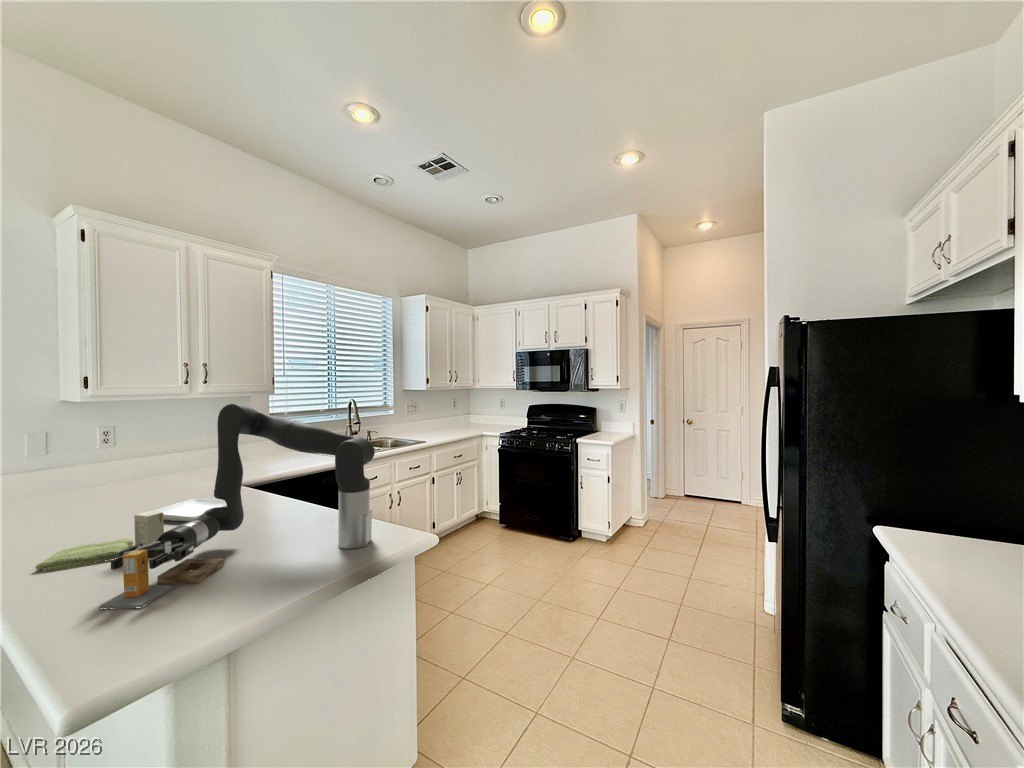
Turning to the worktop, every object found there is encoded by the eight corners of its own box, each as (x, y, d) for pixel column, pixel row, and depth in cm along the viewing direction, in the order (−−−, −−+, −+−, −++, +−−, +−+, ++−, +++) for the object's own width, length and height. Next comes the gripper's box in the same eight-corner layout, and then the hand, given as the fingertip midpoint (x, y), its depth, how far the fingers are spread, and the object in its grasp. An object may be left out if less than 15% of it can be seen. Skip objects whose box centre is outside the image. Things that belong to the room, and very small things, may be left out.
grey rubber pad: (172, 588, 101) (172, 585, 101) (141, 608, 92) (141, 604, 92) (134, 589, 100) (134, 586, 100) (99, 609, 91) (99, 606, 91)
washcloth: (54, 558, 119) (54, 547, 119) (134, 545, 128) (134, 535, 128) (33, 575, 108) (33, 563, 108) (123, 560, 117) (123, 549, 117)
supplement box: (134, 591, 98) (134, 549, 98) (149, 590, 98) (149, 549, 98) (122, 598, 94) (122, 555, 94) (137, 598, 94) (138, 554, 94)
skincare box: (164, 552, 122) (165, 512, 122) (147, 558, 118) (147, 516, 118) (150, 550, 124) (150, 509, 124) (133, 555, 120) (133, 514, 120)
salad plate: (240, 507, 168) (240, 499, 168) (194, 525, 147) (194, 515, 147) (193, 505, 170) (193, 497, 170) (142, 523, 149) (142, 513, 149)
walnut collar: (224, 565, 113) (224, 558, 113) (198, 582, 103) (198, 575, 103) (186, 566, 113) (186, 559, 113) (157, 584, 103) (157, 576, 103)
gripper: (156, 525, 110) (99, 549, 94) (211, 524, 111) (164, 548, 95) (156, 553, 110) (99, 582, 94) (211, 551, 111) (163, 580, 94)
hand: (131, 565), depth 94 cm, fingers open, 8 cm apart
